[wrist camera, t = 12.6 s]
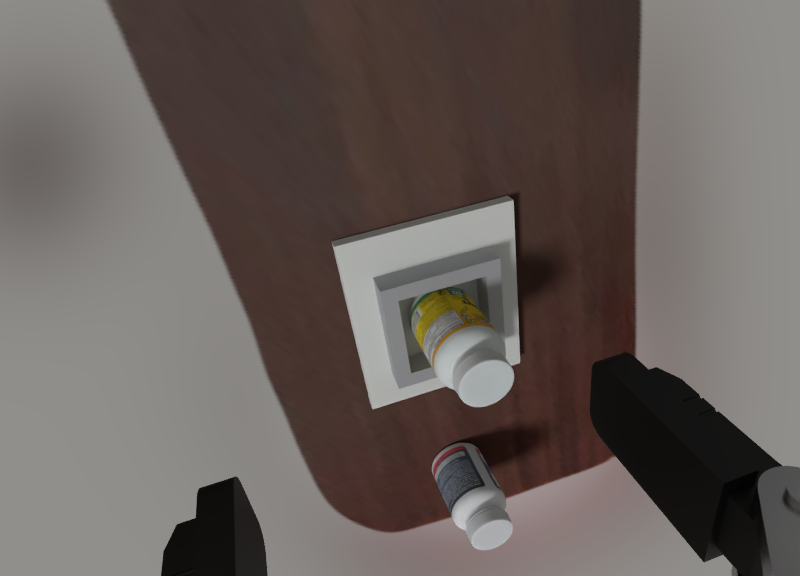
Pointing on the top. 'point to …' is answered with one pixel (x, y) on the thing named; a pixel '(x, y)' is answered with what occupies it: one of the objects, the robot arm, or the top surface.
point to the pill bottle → (472, 495)
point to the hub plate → (426, 288)
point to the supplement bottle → (461, 346)
